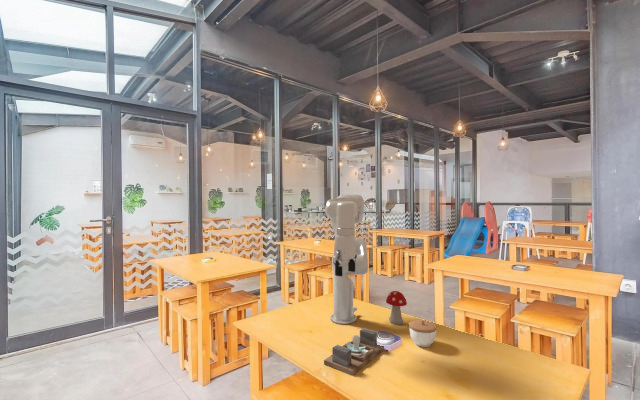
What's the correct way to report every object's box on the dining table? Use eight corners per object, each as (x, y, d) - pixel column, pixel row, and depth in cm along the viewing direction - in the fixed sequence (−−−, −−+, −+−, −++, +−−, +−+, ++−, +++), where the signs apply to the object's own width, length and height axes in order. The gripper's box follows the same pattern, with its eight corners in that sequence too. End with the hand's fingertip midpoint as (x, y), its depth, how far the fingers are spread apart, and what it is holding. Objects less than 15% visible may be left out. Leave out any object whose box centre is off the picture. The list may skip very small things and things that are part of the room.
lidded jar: (404, 343, 136) (404, 321, 136) (416, 335, 144) (416, 314, 144) (429, 352, 129) (429, 328, 129) (440, 343, 137) (441, 320, 136)
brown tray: (358, 340, 139) (358, 325, 138) (384, 349, 131) (384, 332, 131) (324, 364, 119) (324, 346, 119) (352, 375, 112) (352, 356, 112)
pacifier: (361, 358, 121) (367, 351, 126) (361, 342, 120) (367, 335, 126) (342, 354, 124) (349, 347, 129) (342, 337, 124) (348, 331, 129)
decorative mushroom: (382, 322, 158) (382, 291, 158) (391, 317, 165) (391, 287, 165) (401, 328, 152) (401, 295, 152) (409, 322, 158) (410, 291, 158)
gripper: (349, 229, 146) (349, 268, 146) (325, 233, 132) (325, 276, 133) (364, 231, 142) (363, 271, 142) (341, 235, 128) (341, 279, 128)
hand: (345, 273), depth 137 cm, fingers open, 9 cm apart
